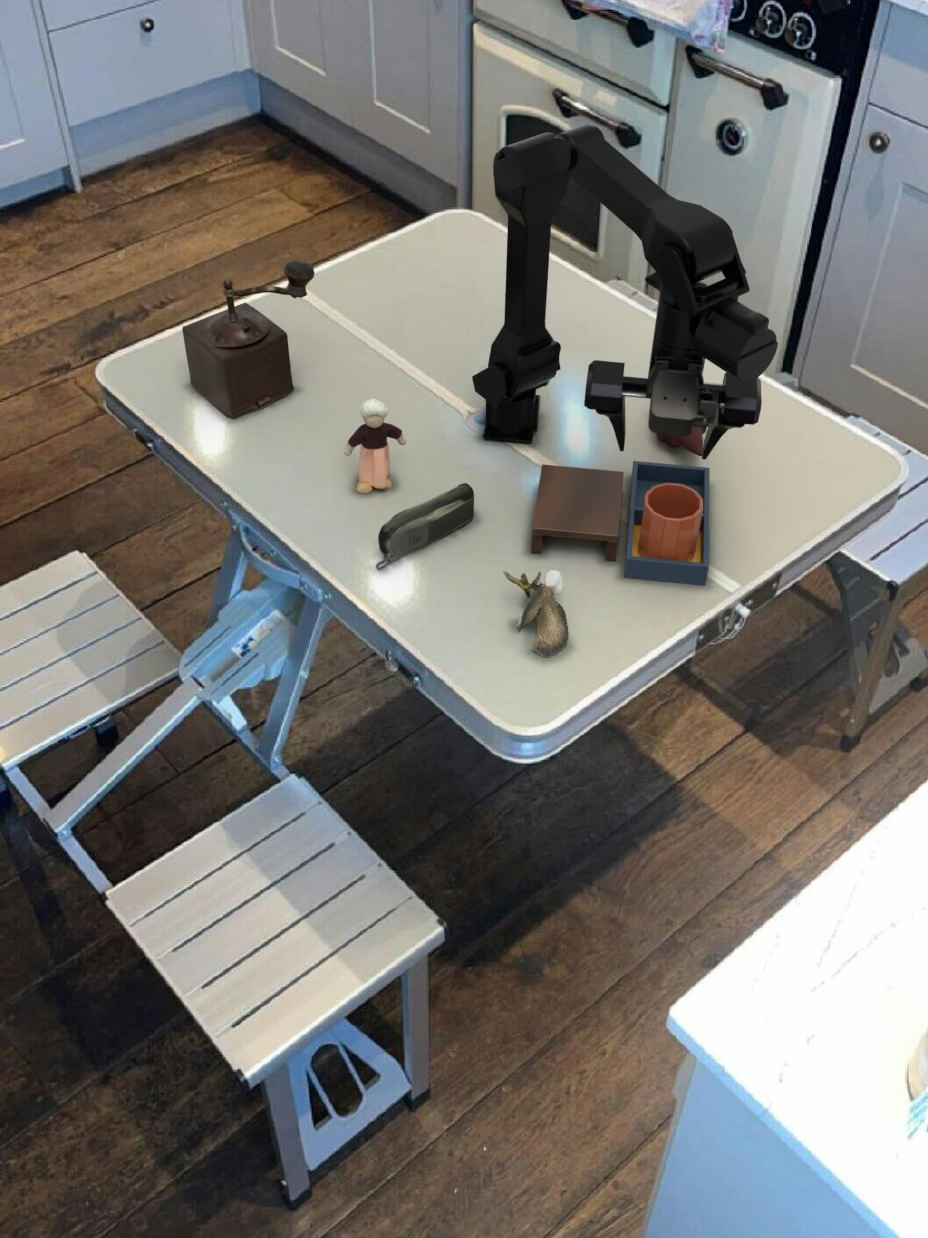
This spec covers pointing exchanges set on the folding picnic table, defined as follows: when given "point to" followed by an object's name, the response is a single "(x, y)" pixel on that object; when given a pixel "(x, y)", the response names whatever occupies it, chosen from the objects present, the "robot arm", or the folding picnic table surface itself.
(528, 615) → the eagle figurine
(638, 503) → the blue divided tray
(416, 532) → the dark green rounded bar
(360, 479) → the grandmother figurine
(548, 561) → the folding picnic table surface
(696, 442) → the maroon cone-shaped figurine
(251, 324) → the coffee grinder
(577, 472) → the brown low table
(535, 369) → the robot arm
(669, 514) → the cup
